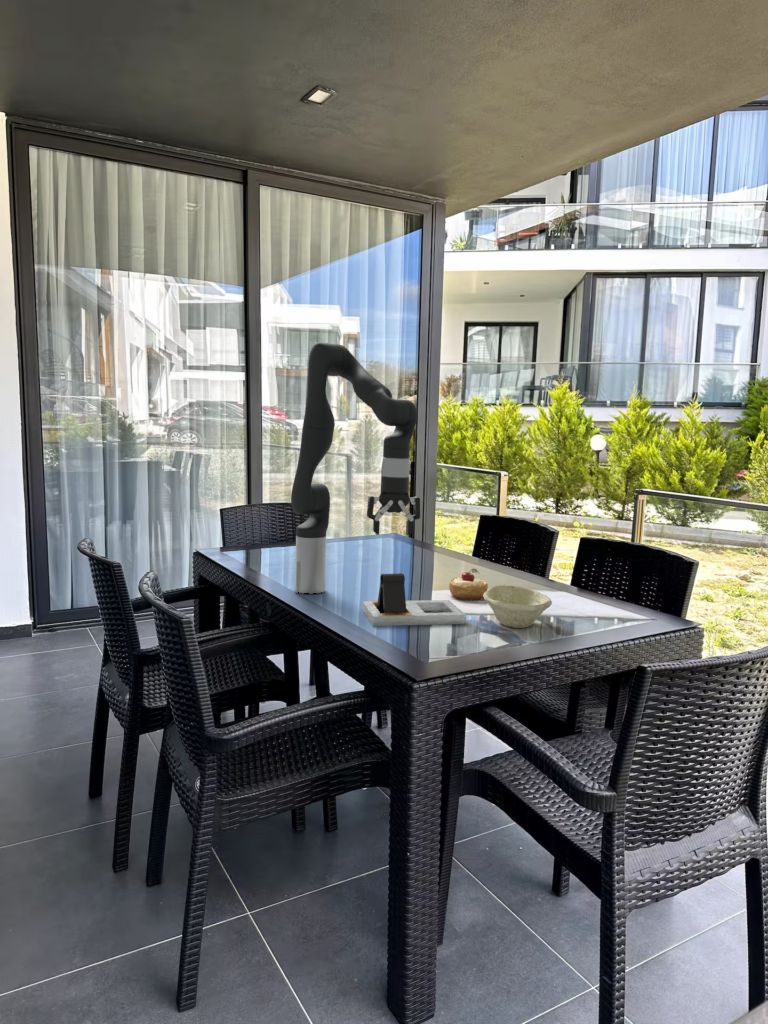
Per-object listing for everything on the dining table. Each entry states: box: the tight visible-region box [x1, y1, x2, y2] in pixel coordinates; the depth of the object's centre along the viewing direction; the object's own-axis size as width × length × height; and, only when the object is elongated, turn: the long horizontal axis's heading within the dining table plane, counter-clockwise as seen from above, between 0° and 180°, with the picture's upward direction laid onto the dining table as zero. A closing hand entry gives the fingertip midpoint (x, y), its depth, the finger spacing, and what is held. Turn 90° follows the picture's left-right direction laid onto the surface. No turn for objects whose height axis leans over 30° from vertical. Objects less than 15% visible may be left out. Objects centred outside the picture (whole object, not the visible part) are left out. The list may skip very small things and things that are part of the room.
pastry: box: [448, 568, 489, 601], centre depth 226 cm, size 12×12×9 cm
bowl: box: [483, 584, 553, 629], centre depth 195 cm, size 14×18×15 cm
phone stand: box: [377, 572, 407, 613], centre depth 199 cm, size 9×6×12 cm, turn 18°
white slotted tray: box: [362, 599, 467, 627], centre depth 200 cm, size 25×16×3 cm, turn 101°
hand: (392, 534), depth 199 cm, fingers open, 8 cm apart
